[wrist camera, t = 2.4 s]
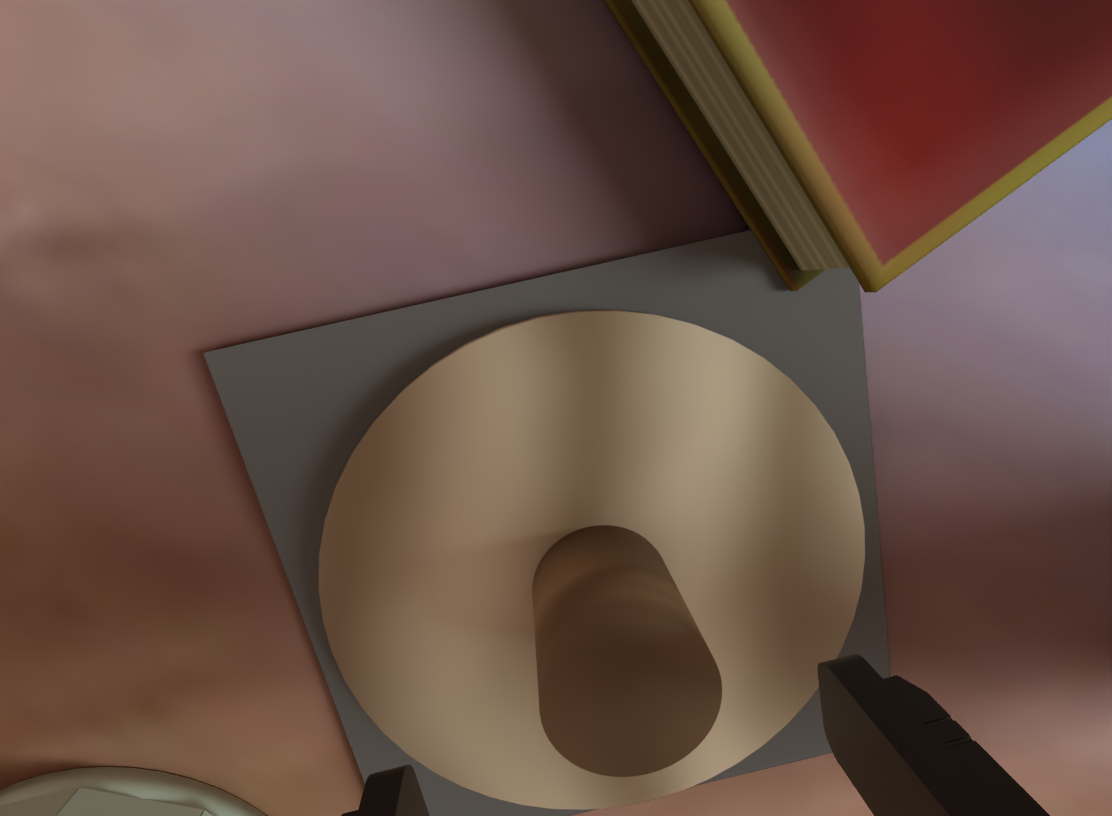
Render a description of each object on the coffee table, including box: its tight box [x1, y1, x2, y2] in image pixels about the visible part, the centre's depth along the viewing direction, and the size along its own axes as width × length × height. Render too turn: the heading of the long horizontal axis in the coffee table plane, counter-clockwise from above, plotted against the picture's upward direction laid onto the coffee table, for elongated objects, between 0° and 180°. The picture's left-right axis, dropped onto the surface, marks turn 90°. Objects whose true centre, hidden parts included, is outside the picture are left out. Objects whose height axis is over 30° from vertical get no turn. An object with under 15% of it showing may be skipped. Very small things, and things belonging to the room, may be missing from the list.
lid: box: [319, 309, 865, 810], centre depth 15 cm, size 16×16×6 cm
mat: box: [203, 230, 891, 816], centre depth 18 cm, size 18×18×1 cm
